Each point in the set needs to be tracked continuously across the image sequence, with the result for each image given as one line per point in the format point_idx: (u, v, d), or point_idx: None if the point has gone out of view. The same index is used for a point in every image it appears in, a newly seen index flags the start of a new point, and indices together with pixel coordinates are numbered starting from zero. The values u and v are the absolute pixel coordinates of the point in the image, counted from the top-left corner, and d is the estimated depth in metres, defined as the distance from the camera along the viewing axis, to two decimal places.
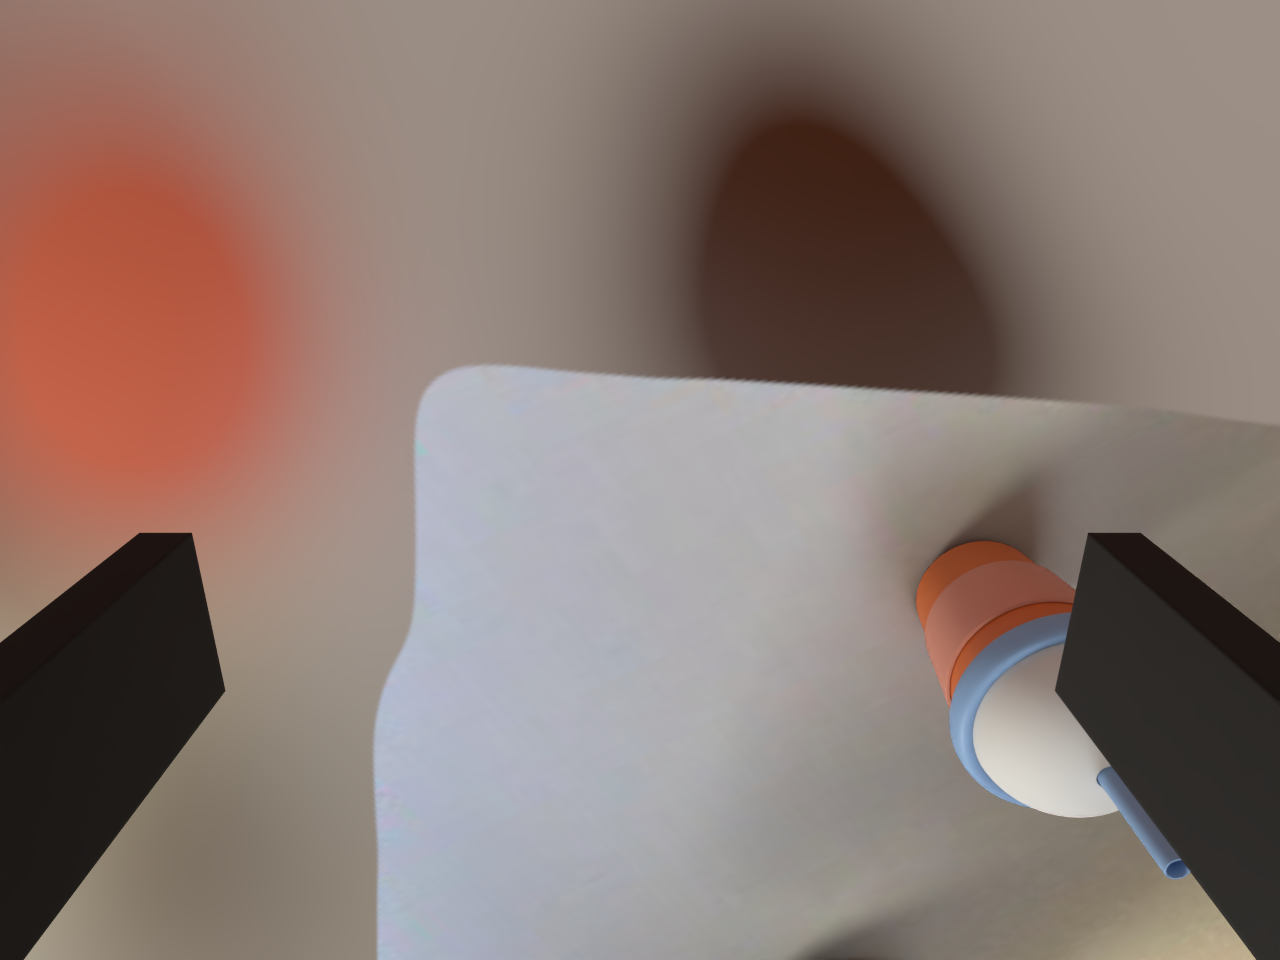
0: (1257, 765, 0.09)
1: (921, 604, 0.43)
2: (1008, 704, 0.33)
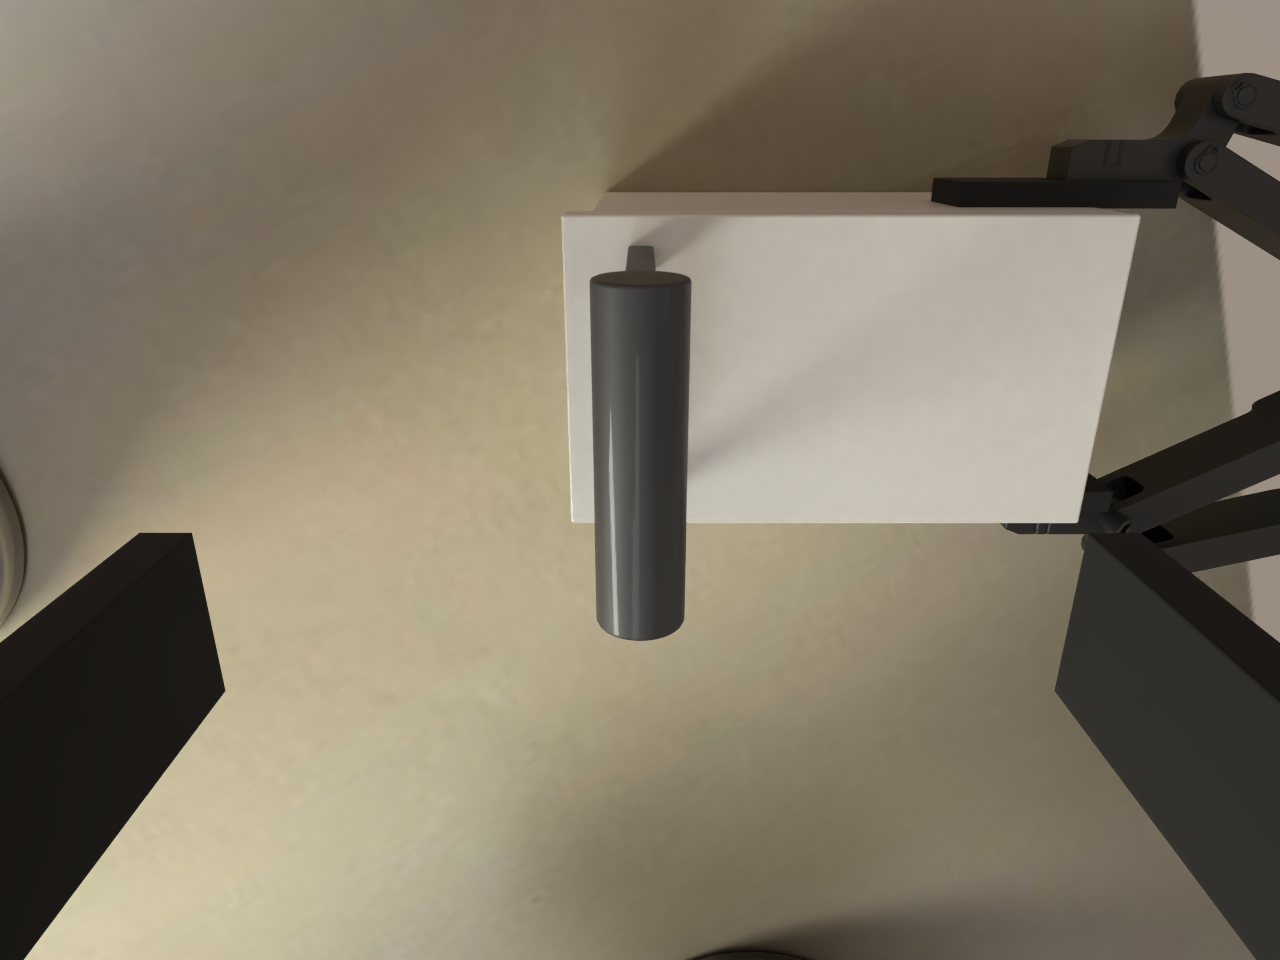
0: (1257, 765, 0.09)
1: None
2: None
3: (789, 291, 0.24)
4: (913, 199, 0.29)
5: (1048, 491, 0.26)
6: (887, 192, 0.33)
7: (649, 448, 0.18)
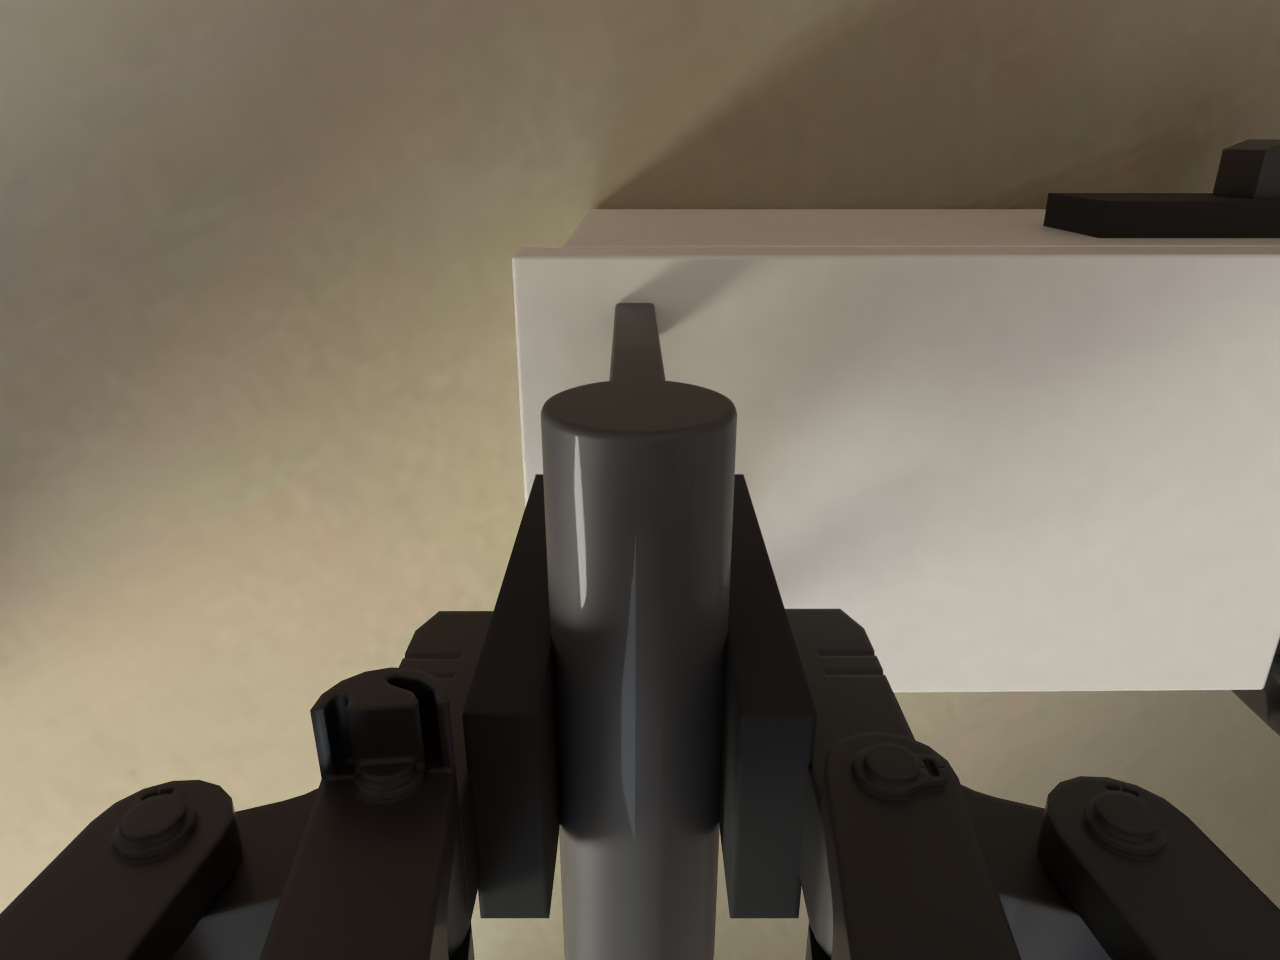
0: None
1: None
2: None
3: (861, 369, 0.16)
4: (1015, 222, 0.21)
5: (1225, 648, 0.18)
6: (965, 209, 0.25)
7: (657, 723, 0.09)
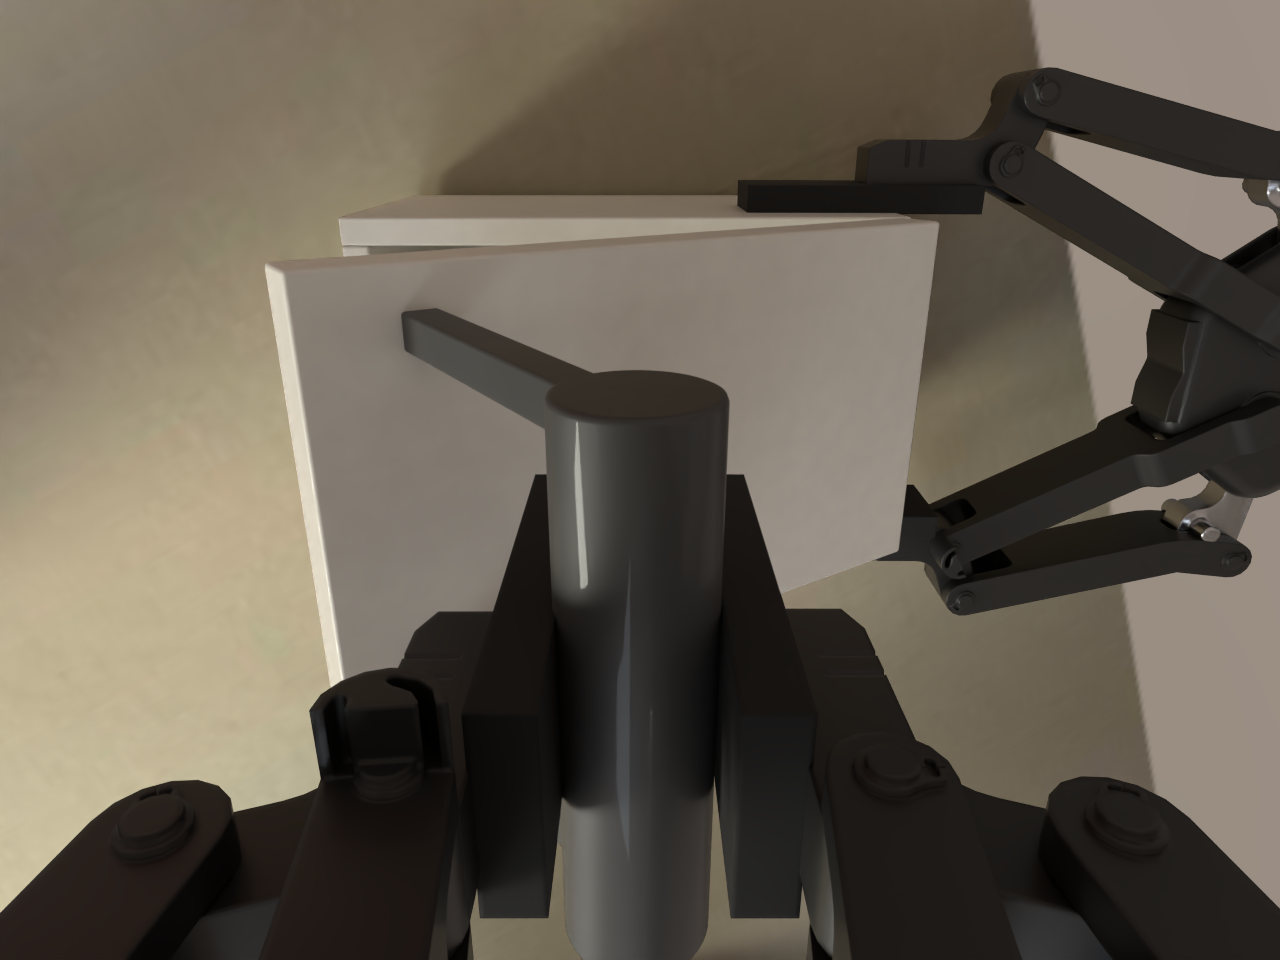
0: None
1: None
2: None
3: (624, 349, 0.17)
4: (723, 203, 0.27)
5: (876, 526, 0.24)
6: (716, 195, 0.31)
7: (697, 681, 0.10)
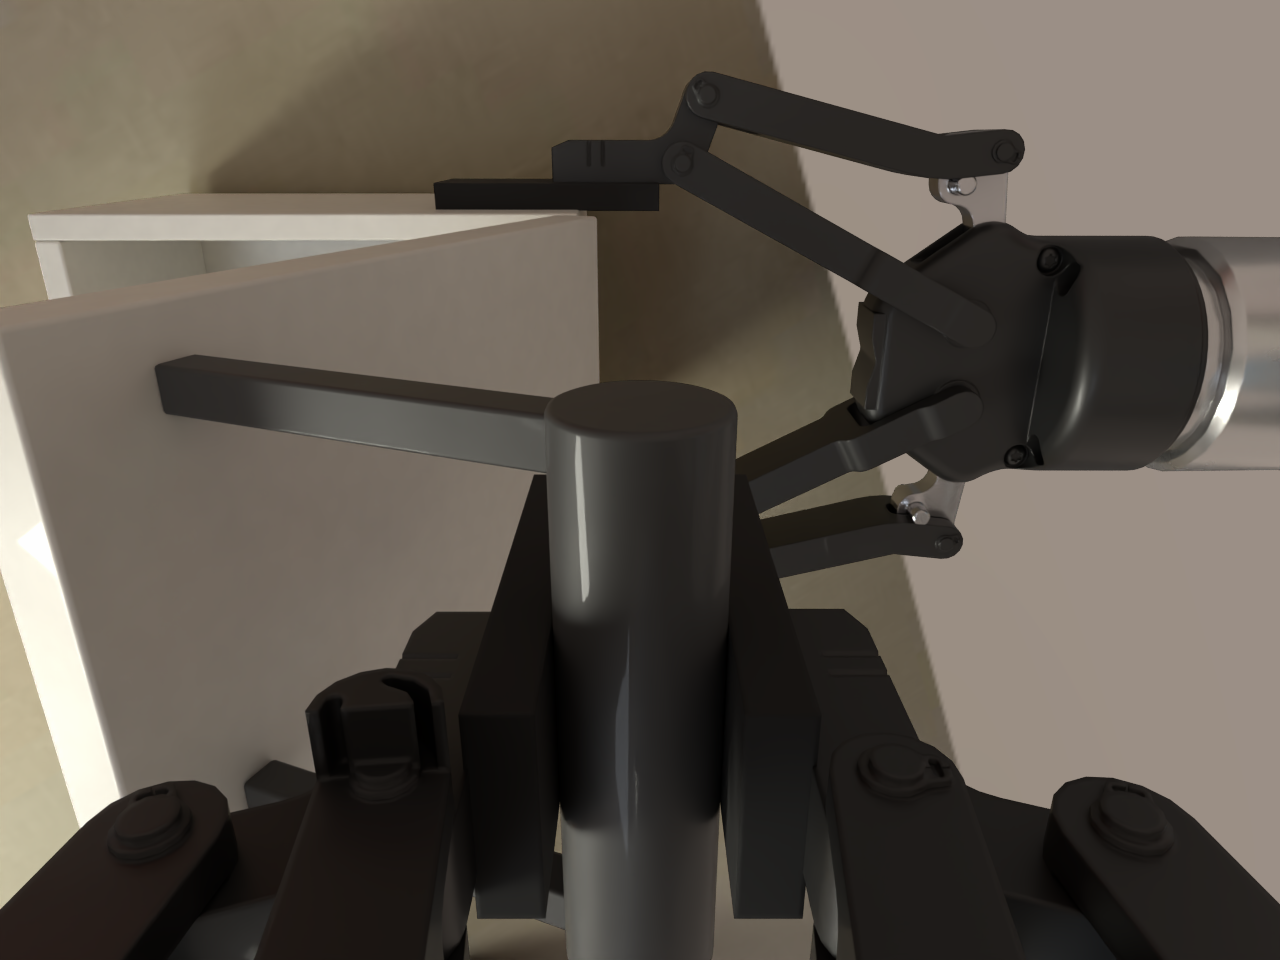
0: None
1: None
2: None
3: (381, 375, 0.16)
4: None
5: None
6: None
7: (725, 676, 0.10)
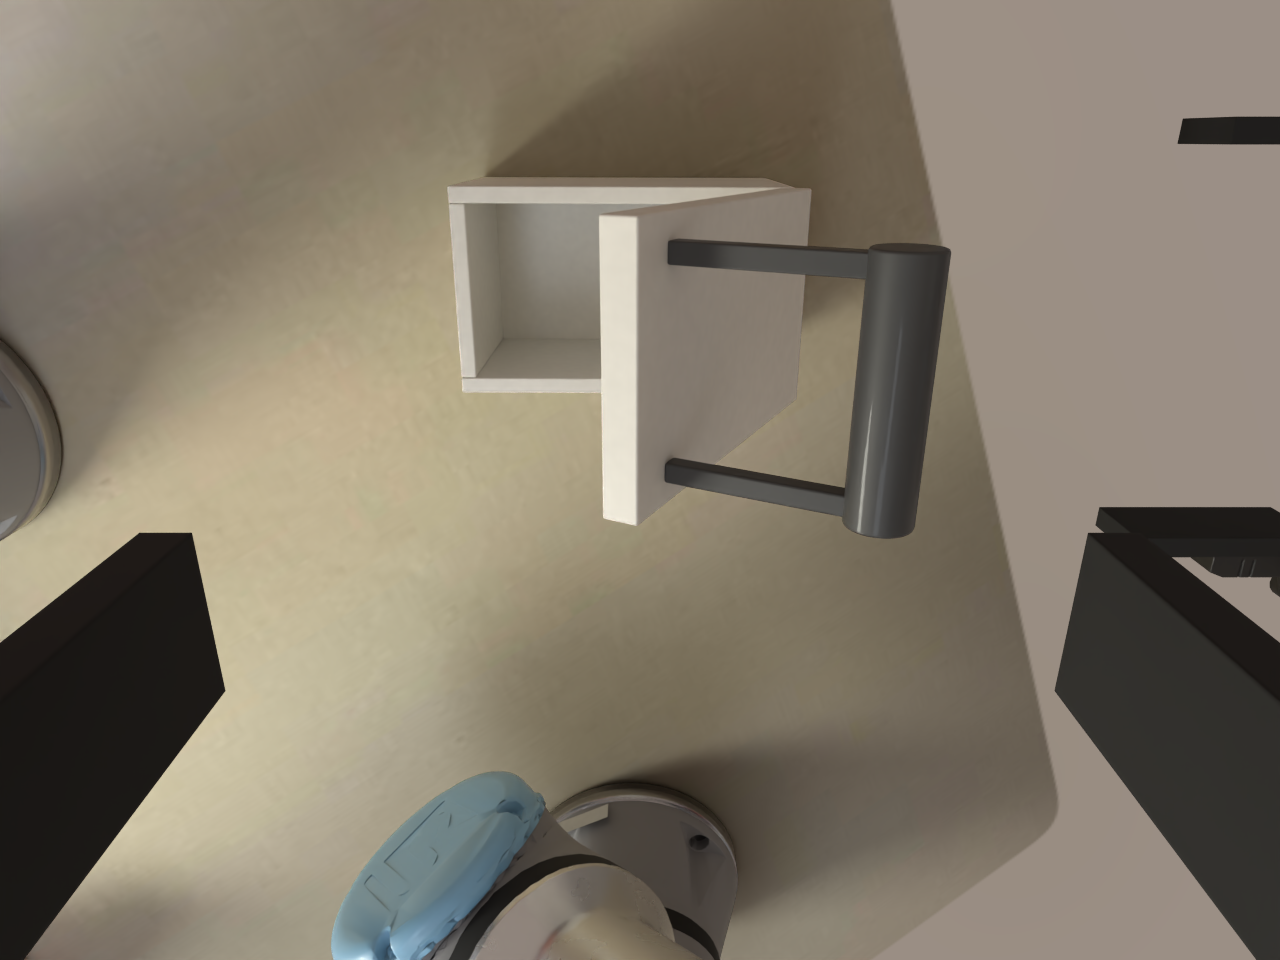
0: (1257, 765, 0.09)
1: None
2: None
3: None
4: (687, 181, 0.42)
5: (790, 382, 0.38)
6: None
7: (934, 374, 0.23)
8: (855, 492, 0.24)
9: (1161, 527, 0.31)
